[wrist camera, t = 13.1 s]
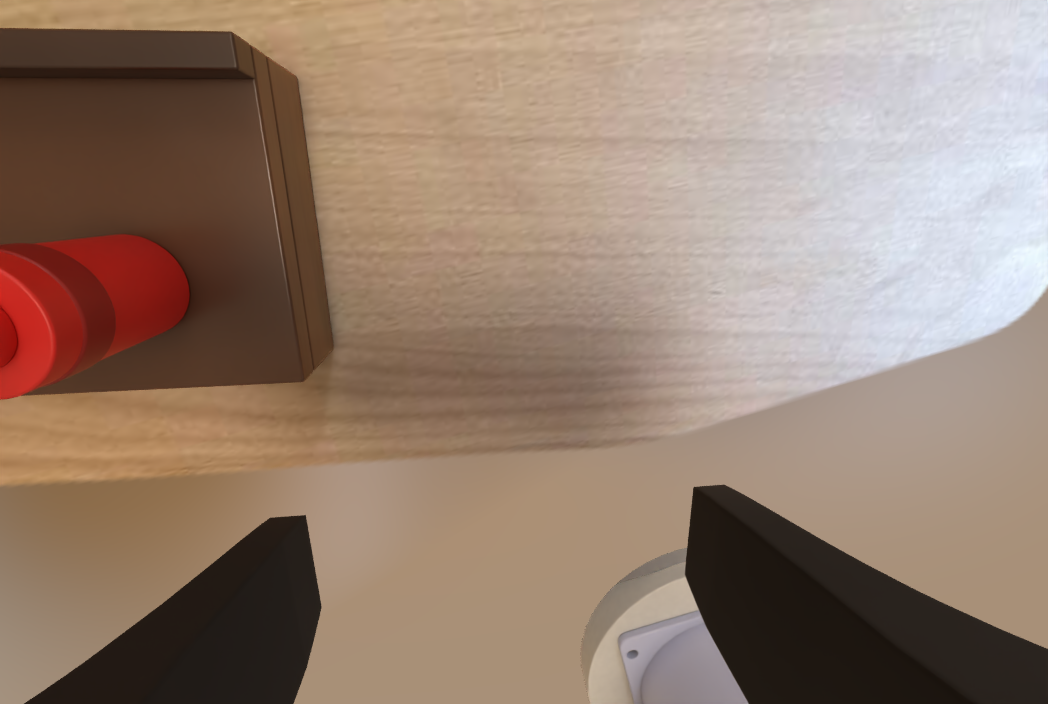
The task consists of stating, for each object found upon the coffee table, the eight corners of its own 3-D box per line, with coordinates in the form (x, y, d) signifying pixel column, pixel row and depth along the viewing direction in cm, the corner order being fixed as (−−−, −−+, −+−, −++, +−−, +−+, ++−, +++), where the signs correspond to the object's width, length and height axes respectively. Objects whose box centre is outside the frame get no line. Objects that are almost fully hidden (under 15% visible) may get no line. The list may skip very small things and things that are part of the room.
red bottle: (210, 320, 14) (37, 404, 8) (112, 348, 14) (-130, 452, 8) (161, 219, 13) (-71, 237, 8) (55, 248, 13) (-259, 288, 8)
